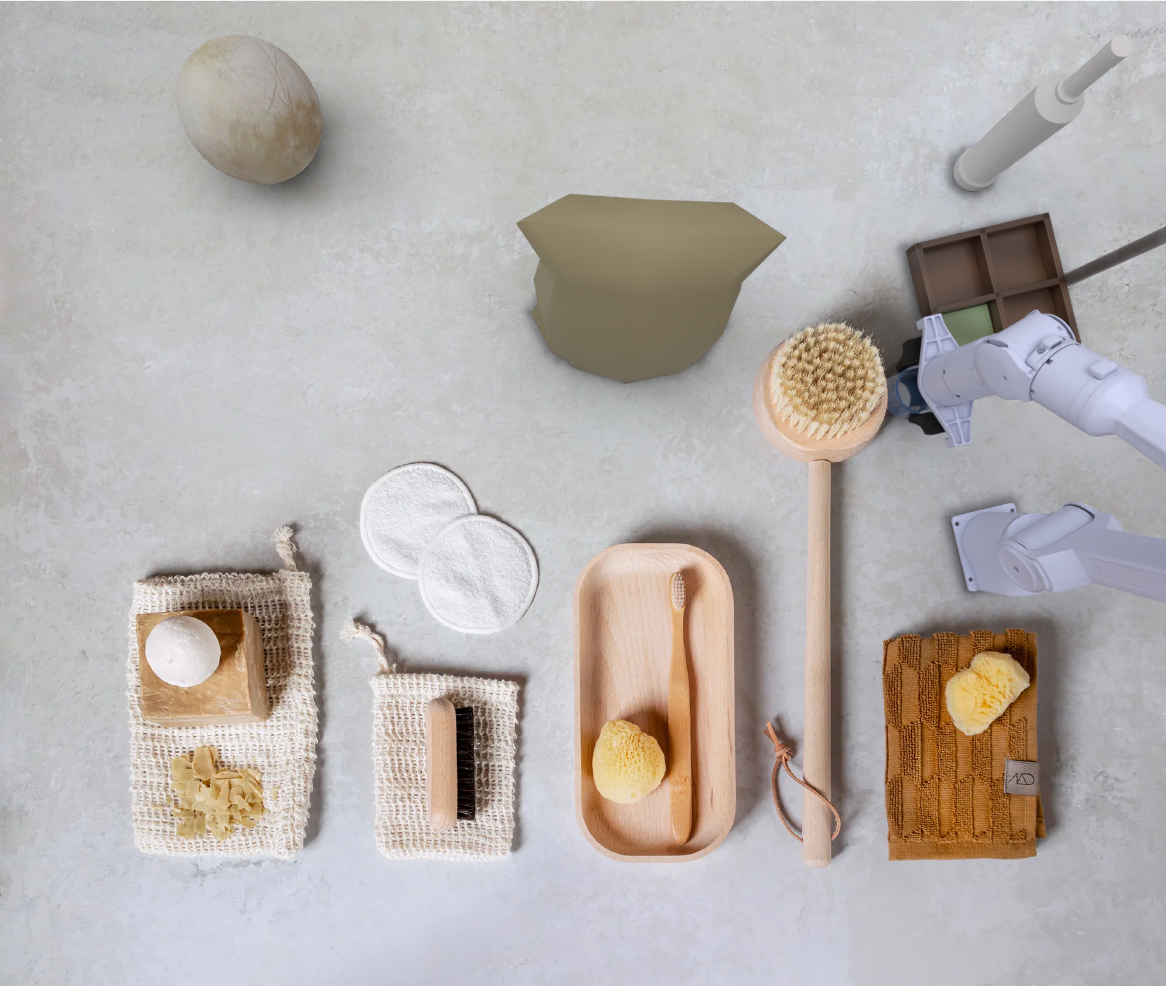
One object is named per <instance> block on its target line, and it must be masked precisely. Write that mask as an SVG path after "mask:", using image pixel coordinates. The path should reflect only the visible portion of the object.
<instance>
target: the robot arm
mask: <svg viewBox="0 0 1166 986" xmlns="http://www.w3.org/2000/svg"><path fill="white" fill-rule="evenodd" d="M915 324H916V328H917V331H919V332H920V331H922V333H921V335H920V336H917V337H913V338H908V339H907V340H905V341H904V342H903V343H902V353H901V357H900V358H899V360H898V362H897V363H896V365H895V366H894V368H895V372H897V371H900V370H902V369H904V368H906V367H909V366H913V365H917V364H919V370H918V388H919V391H920V393H921V395H922V397H923V398H924V400H925V401H926V403H927V404H928V406H929V407H930V409H931V410H932V411H931V412H928V413H924V414H920V415H916V416H911V417H907V418H906V419H907V421H908V424H913V425H916V426H918V427H919V428H920V429H921V431H922V432H923V435H927V436H934V435H940V434H943V433H946V435H947V437H946V438H945V439H944V442H945V446H946V449H950V448H957V447H961V446H964V445H968V444H973V442H974V441H973V436H972V435H973V434H972V426H973V425H972V424H973V415H974V405H975V401H977V400H981V399H984V398H988V397H992V396H997V397H999V398H1000V399H1003V400H1005V401H1015V400H1018V401H1020V402H1022V403H1029V402H1032V401H1033V402H1035V403H1036V404H1038V405H1039V406H1042V407H1043V408H1045V409H1046V410H1048V411H1049V412H1051V413H1052V414H1053V415H1055V416H1057V417H1059V418H1060V419H1062V420H1063V421H1065V422H1067V423H1068V424H1070V425H1071V426H1073V427H1075V428H1076V429H1078V430H1079V431H1081V432H1083V433H1084V434H1086V435H1087V436H1089V437H1093V438H1095V437H1097V438H1098V437H1099V438H1100V437H1105V436H1113V435H1116V436H1117V437H1119V438H1120V439H1121V440H1123V441H1124V442H1125V443H1127V444H1128V445H1129V446H1131V447H1132V448H1134V449H1135V450H1136V451H1138V452H1139V453H1140V454H1142V455H1143V456H1144V457H1145V458H1147V459H1149V460H1150V461H1151V462H1153V464H1155V465H1157V466H1158V467H1160V468H1161V469H1162V470H1163V471H1165V472H1166V405H1165V404H1163V403H1161V402H1159V401H1156V400H1154V399H1152V398H1151V396H1150V390H1149V385H1148V382H1147V380H1146V378H1145V377H1144V376H1143V375H1141V374H1139V373H1137V372H1136V371H1133V370H1131V369H1129V368H1127V367H1126V366H1124V365H1121V364H1120V363H1118V362H1116V361H1114V360H1112V359H1111V358H1108V357H1106V356H1105V355H1103V354H1101V353H1099V352H1098V351H1095V350H1093V349H1091V348H1090V347H1088V346H1086V345H1084V344H1082V343H1081V344H1080V343H1078V342H1076V339H1075V336H1074V334H1073V332H1072V331H1071V329H1070V327H1069V326H1068V325H1067V324H1066V323H1065V322H1064V321H1063V320H1062V319H1060V318H1059V317H1057V316H1055V315H1052V314H1041V313H1040V312H1039V311H1038V310H1034V311H1032V312H1030V313H1029V314H1028V315H1027V316H1026V317H1025V318H1023V319H1021V320H1020V321H1018V322H1016V323H1015V324H1013V325H1011V326H1009V327H1008V328H1006V329H1004V330H1003V331H1001V332H999V333H996V334H992V335H989V336H985V337H983V338H980V339H978V340H975V341H973V342H971V343H968V344H966V345H963V346H961V347H959V345H958V344H957V342H956V341H955V339H954V338H953V336H952V334H951V333H950V332H949V330H948V329H947V327H946V325H945V323H944V321H943V318H942V314H936V315H932V316H928V317H924V318H922V317H921V318H920V319H918V320H916V321H915ZM1011 510H1012V512H1011ZM950 523H951V526H952V531H953V536H954V539H955V544H956V548H957V551H958V555H959V560H960V564H961V569H962V572H963V577H964V580H965V584H966V588H967V590H968V591H970V592H977V591H980V592H984V593H989V594H995V595H999V596H1003V597H1028V596H1029V597H1030V596H1035V595H1041V594H1045V593H1048V592H1050V593H1051V594H1060V593H1064V592H1067V591H1071V590H1075V589H1079V588H1082V587H1086V586H1091V585H1099V586H1103V587H1106V588H1109V589H1113V590H1116V591H1119V592H1124V593H1127V594H1130V595H1134V596H1137V597H1141V598H1145V599H1148V600H1152V601H1155V602H1159V603H1162V604H1166V539H1164V538H1159V537H1153V536H1148V535H1144V534H1137V533H1131V532H1127V531H1125V530H1124V528H1123V526H1122V525H1121V523H1120V521H1119V520H1118V519H1117V518H1116V516H1115V515H1114V514H1112V513H1108V512H1102V511H1100V510H1098V509H1096V508H1095V507H1093V506H1092V505H1090V504H1087V503H1085V502H1082V501H1078V500H1072V501H1068V502H1066V503H1064V505H1063V506H1062V507H1061V508H1059V509H1058V510H1056V511H1050V512H1047V513H1044V512H1043V513H1042V512H1018V511H1017V507H1016V504H1015V503H1014V502H1007V503H1003V504H998V505H994V506H989V507H986V508H983V509H978V510H973V511H969V512H965V513H961V514H957V515H953V516H952V517H951V518H950ZM956 523H957V525H956Z"/></svg>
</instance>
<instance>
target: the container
mask: <svg viewBox="0 0 1166 986" xmlns="http://www.w3.org/2000/svg"><path fill="white" fill-rule="evenodd" d="M515 224H516V225H517V227H518V229H519V230H520V232H521V233H522V236H524V238H525V240H527V242H528V244H529V245H530V246H531V248H532V249H533V251H534V252H535V254H536V256H537V257H538V258H539V260H538V263H537V267H536V270H535V273H534V276H533V284H534V289H535V294H536V299H537V300H536V301H537V303H536V305H535V306H534V308H533V309H532V311H531V312H530V314H531V316H532V318H533V320H534V323H535V324H536V326H537V328H538V330H539V331H540V334H541V335H542V337H543V339H544V340H545V342H546V344H547V346H548V348H549V350H550V352H551V353H553V354H554V355H555V356H558V358H561V359H563V360H565V361H566V362H567V363H568V364H569V365H571V366H572V367H573V368H574V369H577V370H581V371H583V372H588V373H590V374H594V375H597V376H601V377H604V378H607V379H610V380H614V381H616V382H620V383H623V384H629V383H630V384H631V383H636V382H640V381H647V380H651V379H656V378H660V377H661V378H662V377H666V376H671V375H675V374H680V373H681V372H683V371H684V370H685V369H687V368H688V367H690V366H692V365H693V364H695V363H697V362H700V361H702V359H703V358H704V357H705V355H706V354H707V353H708V352H709V351H710V350H711V349H712V347H713V346H714V345H715V344H716V343H717V342H718V340H720V338H721V337H722V336H723V335H724V333H725V330H726V327H727V324H728V322H729V320H730V317H731V314H732V312H733V309H734V307H735V304H736V303H737V299H738V297H739V295H740V292H741V290H742V286H743V285H742V284H743V283H744V281H746V279H747V278H749V277H750V275H752V274H753V273H754V271H756V270H757V269H758V268H759V266H760V265H761V264H763V262H764V261H765V260H766V259H767V258H769V256H770V255H772V254H773V252H775V250H777V248H778V247H779V246H780V245H782V243H783V242H784V241H785V240H786V239H787V236H786V235H784V234H783V233H782V232H780V231H778V230H777V229H775V228H774V227H772V226H771V225H769V224H768V223H766V222H765V221H763V220H761V219H760V218H759V217H757V216H755V215H754V214H752V213H751V212H749V211H748V210H746V209H745V208H743V207H742V206H739V204H736V202H731V201H706V200H705V201H704V200H681V199H680V200H678V199H676V200H675V199H651V198H650V199H648V198H634V197H622V196H621V197H620V196H609V195H608V196H607V195H595V194H594V195H593V194H581V193H580V194H579V193H569V194H566V195H565V196H562V197H560V198H558V199H556V200H554V201H553V202H551V203H549V204H547V205H545V206H544V207H542V208H540V209H538V210H536V211H535V212H533V213H531V214H529V215H527V216H525V217H524V218H522V219H521V220H518V221H517V222H516V223H515Z"/></svg>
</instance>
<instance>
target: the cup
mask: <svg viewBox="0 0 1166 986" xmlns="http://www.w3.org/2000/svg"><path fill="white" fill-rule="evenodd" d="M918 370H919V364H917V365H913V366H909V367H906V368H904V369H902V370H900V371H894V372H893V373H892V374H891V375H889V376H888V377H887V378H886V379H887V388H888V409H887V410H886V411H888V412H889V413H890V414H891V415H893V416H894V417H898V418H901V419H908V418H907V417H911V416H916V415H920V414H924V413H928V412H932V410H931V409H930V407H929V406H928V404H927V403H926V401H925V400H924V398H923V397H922V395H921V393H920V391H919V388H918Z"/></svg>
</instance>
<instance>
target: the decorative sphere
mask: <svg viewBox="0 0 1166 986" xmlns="http://www.w3.org/2000/svg"><path fill="white" fill-rule="evenodd" d="M176 106H177V112H178V113H177V114H178V117H179V120H180V122H181V125H182V127H183V130H184V132H185V135H186V136H187V138H188V139H189V141H190V142H191V144H192V146H193V147H194V149H196V151H197V152H198V153H199V154H200V155H201V157H202V158H203V159H205V161H207V163H209V165H211V166H212V167H214V168H215V169H217V171H220V172H221V173H223V174H224V175H226V176H228V177H230V178H232V179H234V180H237V181H240V182H244V183H247V184H251V185H253V184H254V185H274V184H279V183H282V182H285V181H288V180H290V179H292V178H294V177H296V176H297V175H299V174H301V172H303V171H304V170H305V169H306V168H307V167H308V166H309V165H310V163H311V162H312V161H313V160H314V158H315V156H316V154H317V152H318V150H319V148H320V147H319V146H320V144H321V141H322V135H323V113H322V107H321V104H320V100H319V96H318V94H317V91H316V89H315V87H314V85H313V83H312V81H311V80H310V78H309V77H308V75H307V74H306V72H305V71H304V69H303V68H302V66H300V65H299V64H298V63H297V62H296V61H295V60H294V59H293V58H292V57H291V56H290V55H289V54H288V53H287V52H286V51H284V50H282V48H279V47H278V46H276V45H274V44H273V43H270V42H268V41H266V40H264V39H262V38H258V37H256V36H251V35H246V34H225V35H220V36H216V37H214V38H212V39H209V40H207V41H205V42H203V43H202V44H200V45H199V46H198V47H196V48H195V49H194V50H193V51H192V52H191V54H189V56H188V57H187V58H186V60H185V61H184V63H183V65H182V68H181V69H180V73H179V76H178V79H177V84H176Z"/></svg>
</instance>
